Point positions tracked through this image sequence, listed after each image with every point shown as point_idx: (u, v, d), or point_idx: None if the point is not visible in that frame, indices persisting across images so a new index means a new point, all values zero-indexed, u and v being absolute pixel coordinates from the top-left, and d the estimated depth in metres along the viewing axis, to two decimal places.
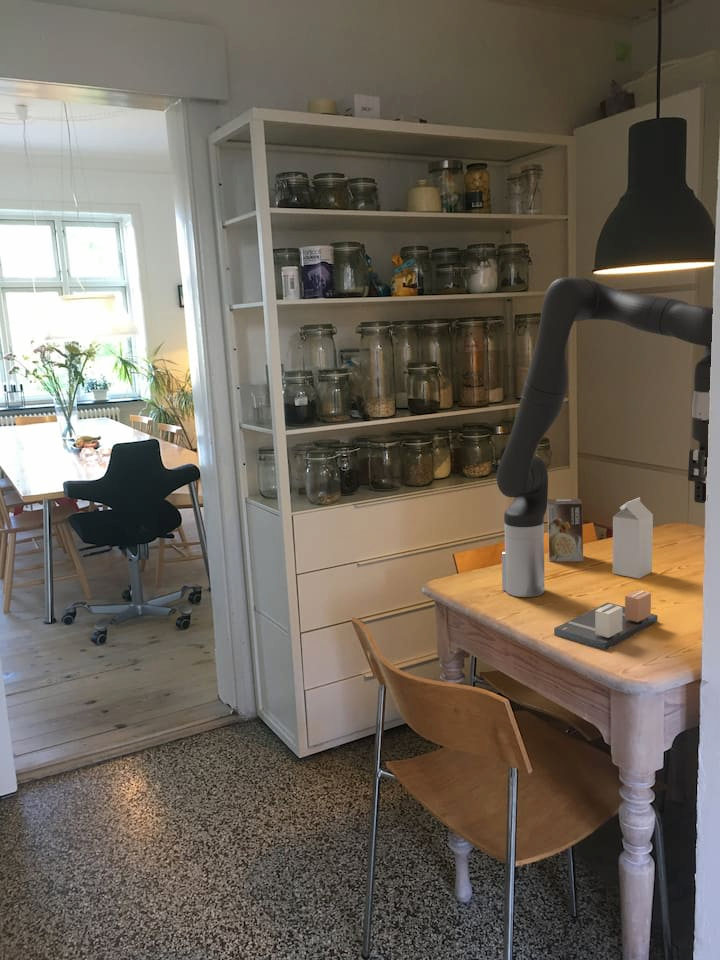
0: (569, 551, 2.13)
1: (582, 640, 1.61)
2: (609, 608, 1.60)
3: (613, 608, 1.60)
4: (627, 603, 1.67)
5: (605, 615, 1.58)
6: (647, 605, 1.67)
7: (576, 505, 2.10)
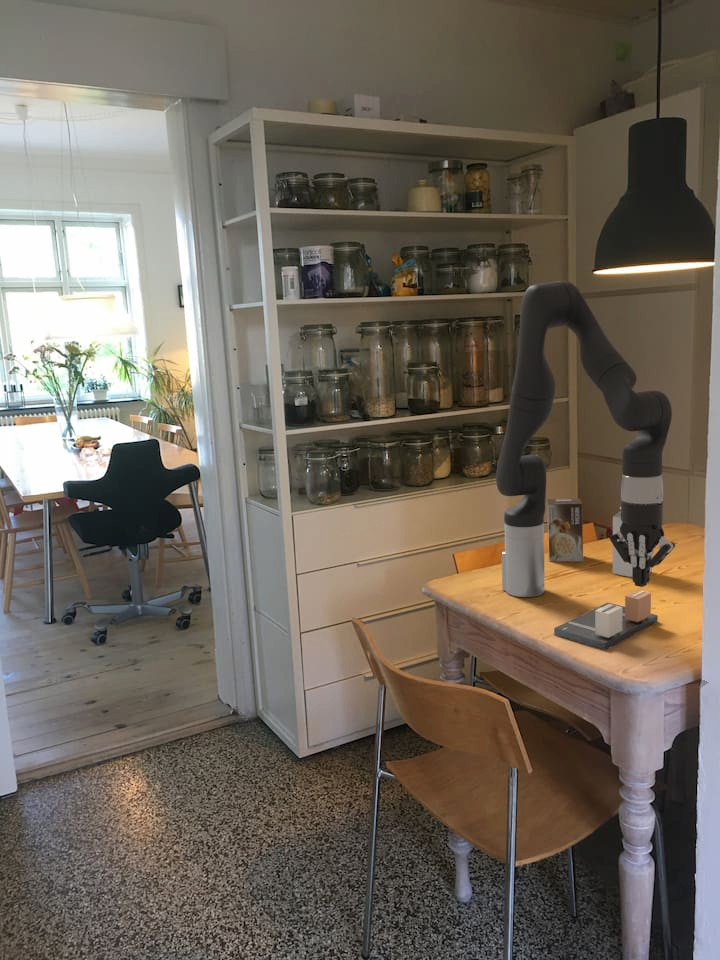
0: (569, 551, 2.13)
1: (582, 640, 1.61)
2: (609, 608, 1.60)
3: (613, 608, 1.60)
4: (627, 603, 1.67)
5: (605, 615, 1.58)
6: (647, 605, 1.67)
7: (576, 505, 2.10)
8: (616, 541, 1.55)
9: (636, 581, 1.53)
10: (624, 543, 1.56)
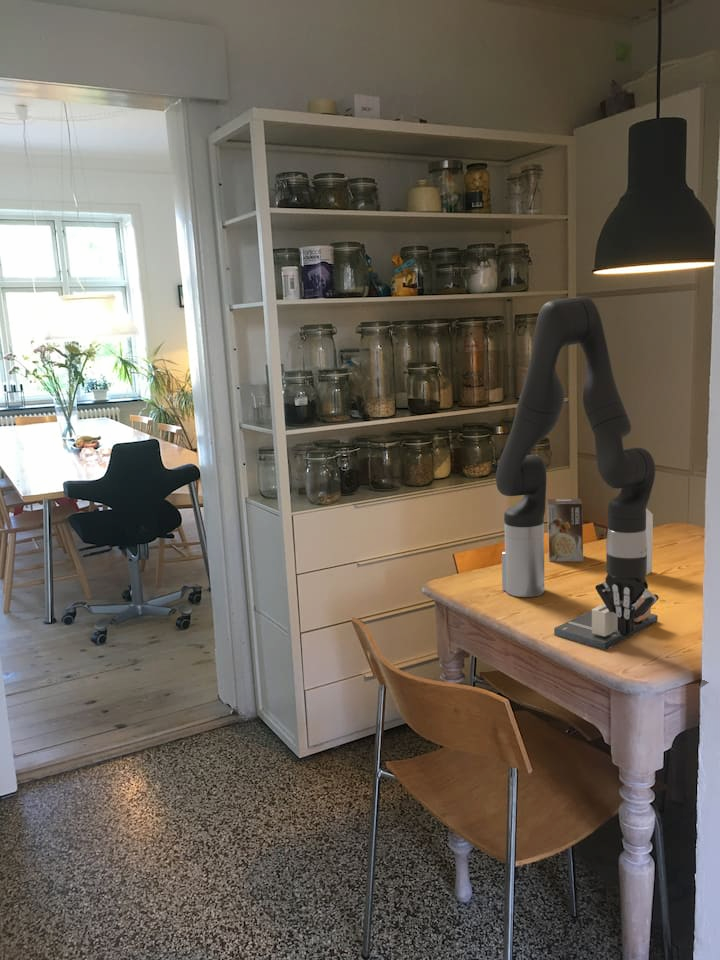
0: (569, 551, 2.13)
1: (582, 640, 1.61)
2: (605, 607, 1.61)
3: None
4: None
5: (601, 614, 1.59)
6: None
7: (576, 505, 2.10)
8: (602, 591, 1.60)
9: (621, 630, 1.58)
10: (609, 593, 1.60)
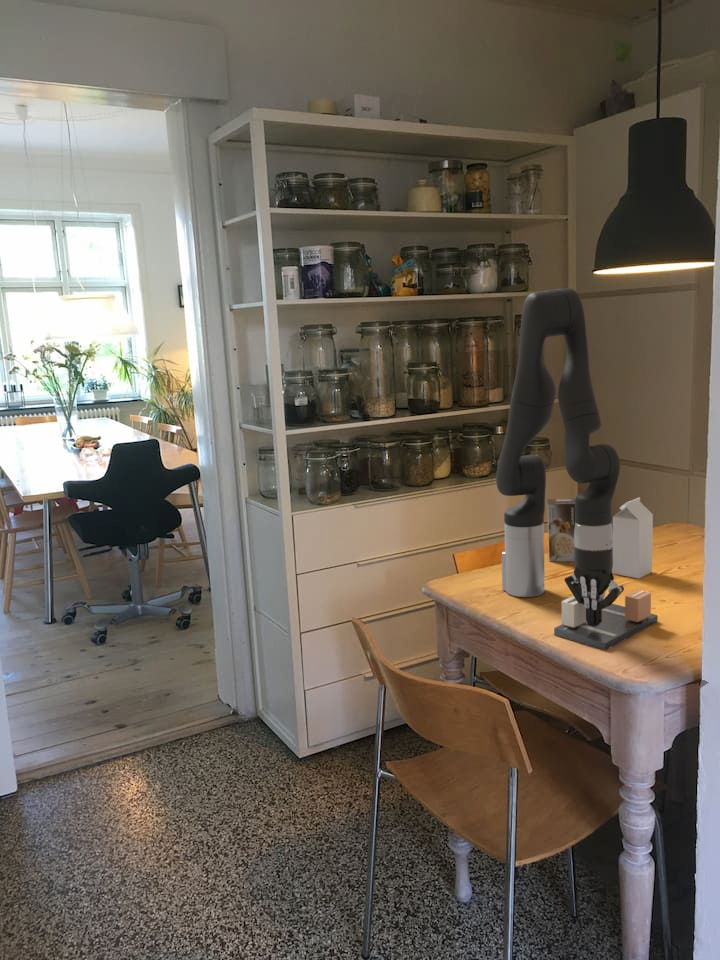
0: (569, 551, 2.13)
1: (582, 640, 1.61)
2: (575, 599, 1.66)
3: None
4: (627, 603, 1.67)
5: (570, 606, 1.64)
6: (647, 605, 1.67)
7: None
8: (570, 583, 1.65)
9: (589, 621, 1.63)
10: (578, 585, 1.66)
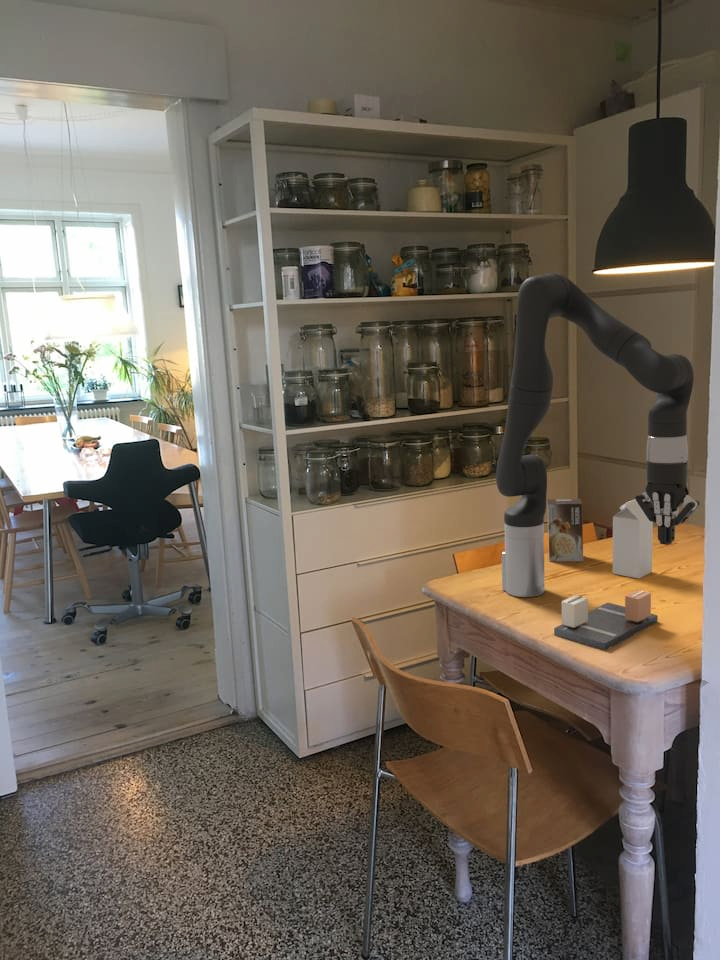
0: (569, 551, 2.13)
1: (582, 640, 1.61)
2: (575, 599, 1.66)
3: (579, 599, 1.66)
4: (627, 603, 1.67)
5: (570, 606, 1.64)
6: (647, 605, 1.67)
7: (576, 505, 2.10)
8: (642, 501, 1.60)
9: (661, 539, 1.58)
10: (649, 503, 1.61)
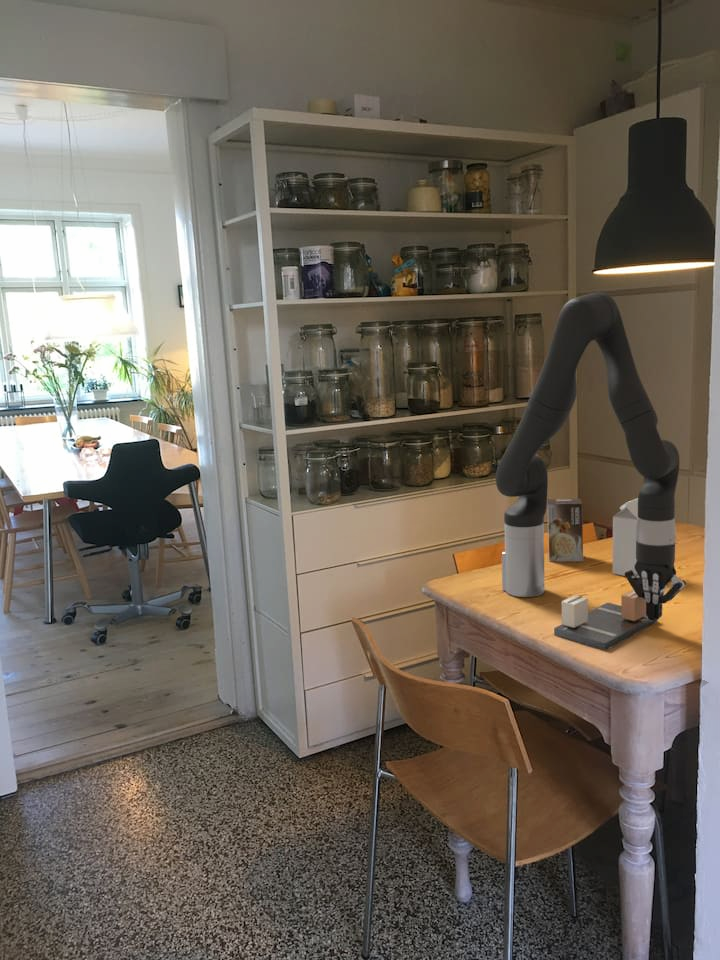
0: (569, 551, 2.13)
1: (582, 640, 1.61)
2: (575, 599, 1.66)
3: (579, 599, 1.66)
4: (623, 602, 1.67)
5: (570, 606, 1.64)
6: (643, 604, 1.68)
7: (576, 505, 2.10)
8: (631, 577, 1.67)
9: (649, 615, 1.65)
10: (638, 579, 1.67)
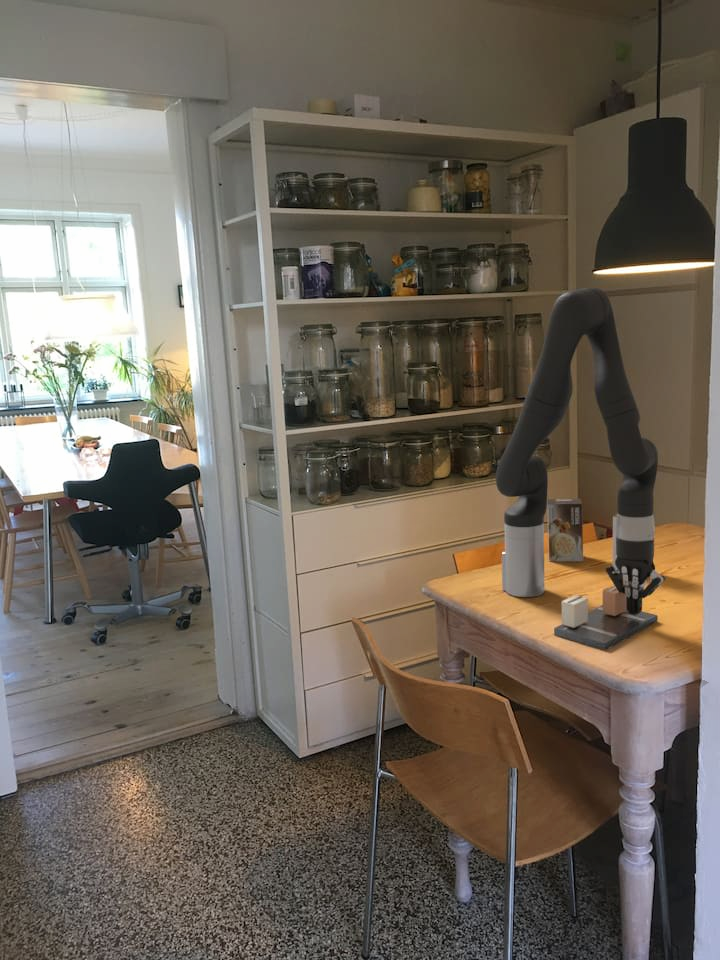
0: (569, 551, 2.13)
1: (582, 640, 1.61)
2: (575, 599, 1.66)
3: (579, 599, 1.66)
4: (604, 597, 1.71)
5: (570, 606, 1.64)
6: (624, 599, 1.71)
7: (576, 505, 2.10)
8: (611, 573, 1.70)
9: (630, 610, 1.68)
10: (619, 575, 1.71)
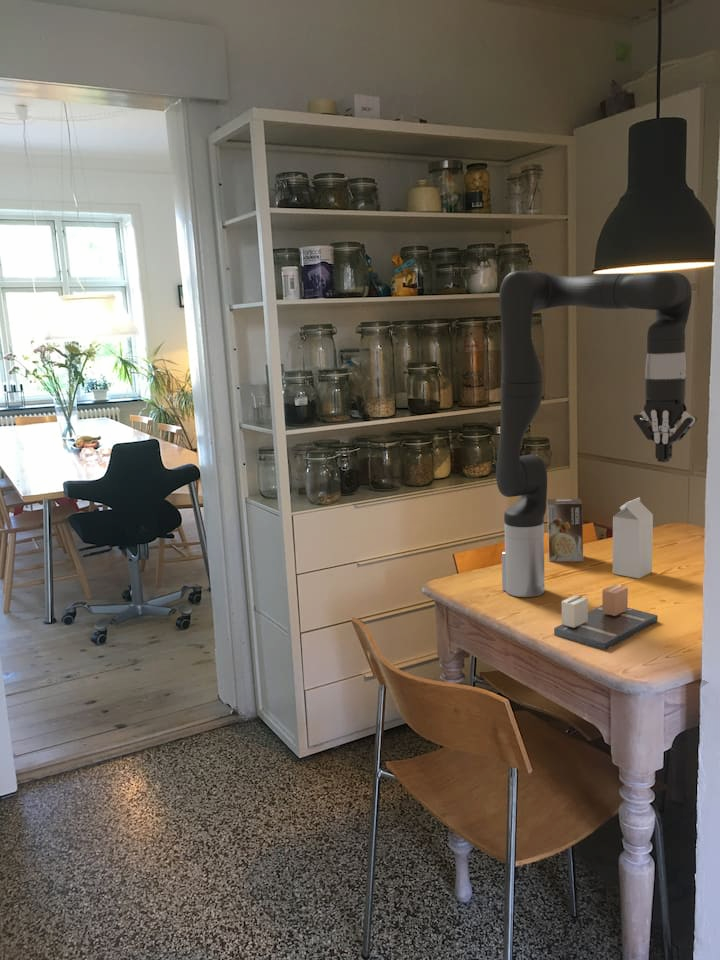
0: (569, 551, 2.13)
1: (582, 640, 1.61)
2: (575, 599, 1.66)
3: (579, 599, 1.66)
4: (604, 597, 1.71)
5: (570, 606, 1.64)
6: (623, 599, 1.71)
7: (576, 505, 2.10)
8: (640, 420, 1.63)
9: (659, 457, 1.62)
10: (647, 422, 1.64)
